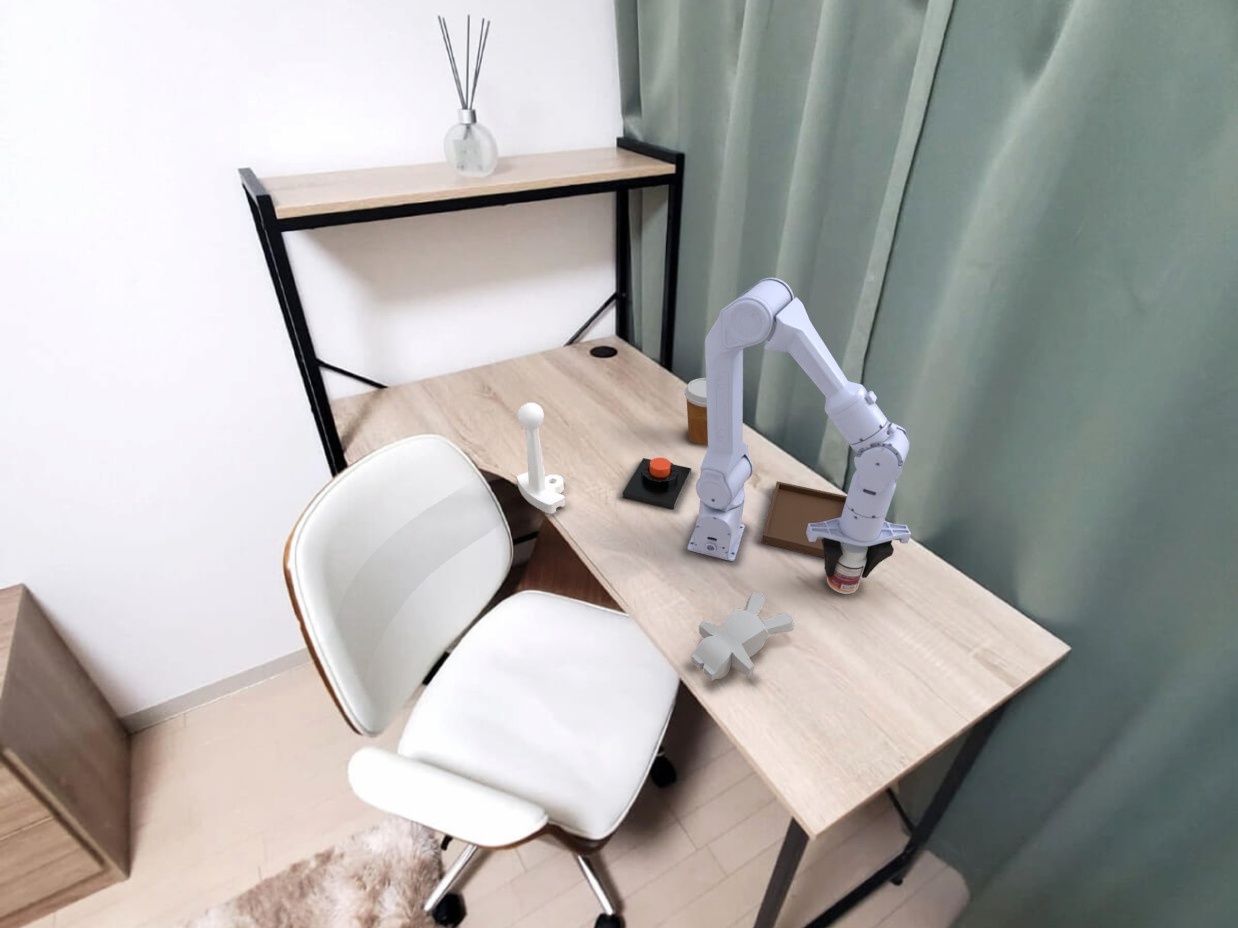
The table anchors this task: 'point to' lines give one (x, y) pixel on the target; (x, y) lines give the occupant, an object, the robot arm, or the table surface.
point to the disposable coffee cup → (697, 411)
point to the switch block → (657, 485)
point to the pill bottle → (848, 568)
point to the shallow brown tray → (799, 516)
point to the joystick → (538, 465)
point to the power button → (660, 467)
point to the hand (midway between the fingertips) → (845, 572)
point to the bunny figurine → (737, 639)
